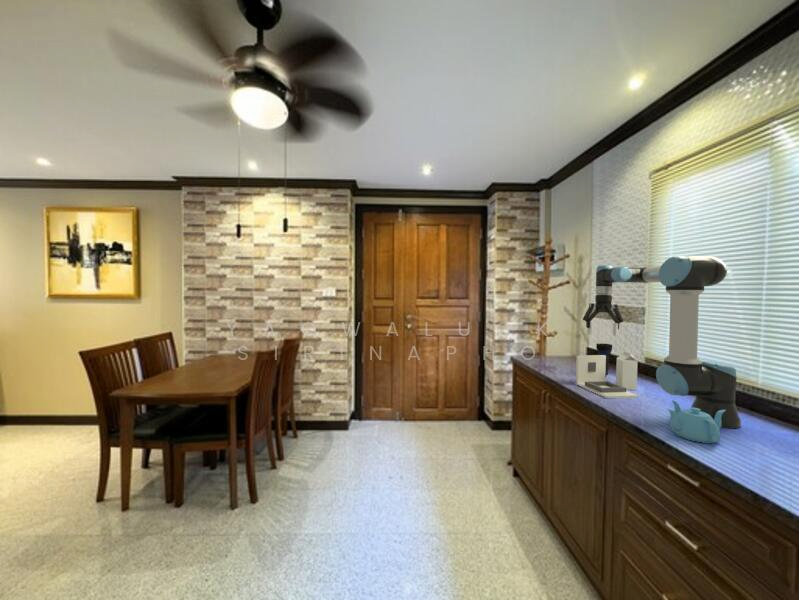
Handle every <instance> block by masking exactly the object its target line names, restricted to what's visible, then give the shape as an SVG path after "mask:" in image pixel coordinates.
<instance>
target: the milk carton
mask: <svg viewBox="0 0 799 600" xmlns="http://www.w3.org/2000/svg"><path fill="white" fill-rule="evenodd" d="M638 362H639V361H638V360H637V359H635V355H633V354H631V352H628V351H624V350H623V353H622V354H620V355H619V356H617V357H616V362H615V363H616V367H615V384H617V385H620V386H622V387H625V388H626V391H627V390H629V391H631V390H633V391H637V390H638Z"/></svg>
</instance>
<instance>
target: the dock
mask: <svg viewBox="0 0 799 600" xmlns="http://www.w3.org/2000/svg"><path fill="white" fill-rule="evenodd" d="M575 358H576V359H575V360H576V361H575V363H576V365H575V385H576V384H577V385H579V386H581V387H580V388H582V387H583V388H582V389H584V388H585V390H586V389H587V391H588V390H589V391H588V392H591V391H592V392H591V393H593V392H594V394H595V393H596V394H595V395H597V394H598V395H597V396H600V395H601V396H600V397H602V396H603V397H602V398H604V397H605V399H606V398H614V399H638V397H639V395H638V394H635V393H633V392H631V391H627V389H626V388H625V387H622V386H620V385H617V384H616V383H615V382H611V381H608V380H606V378H605V370H606V356H605V355H599V354H596V355H595V354H591V355H590V354H588V355H587V354H585V355H583V354H582V355H580V354H579V355H577V354H576V356H575ZM577 385H576V386H577ZM579 386H578V387H579Z"/></svg>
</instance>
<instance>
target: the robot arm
mask: <svg viewBox="0 0 799 600" xmlns="http://www.w3.org/2000/svg"><path fill="white" fill-rule="evenodd" d="M727 274H728V268H727V265H726V264H725V262H724V261H722V260H721V259H720V258H718V257H714V256H702V255H701V256H699V255H697V256H694V255H693V256H691V255H680V256H679V255H678V256H677V255H676V256H671V257H669V258H667V259H666V260H665V261H664V262H663V263H662V264H661V266H659V265H658V266H647V267H628V266H616V267H613V265H609V264H603V265H602V264H601V265H598V266H597V267H596V272H595V303H594V302H593V303H589V305H588V307H587V310H586V311H585V314H584V316H583V317H582V321H584V322H586V325H585V326H586V329H587V335H592V334H593V322H592V320H593V319H594V318H595V317H596V316H597V315H598V314H599V313H606V314H608V316H609V317H610V318H611V319H612V321H613V323H612V336H618V333H619V332H618V330H619V329H620V324H621V323H623V322H624V319H623V317H622V314H621V312H620V311H619V306H618V304H616V303H615V304H612V303H613V296H612V294H613V284H615V283H637V284H639V283H640V284H642V283H644V284H648V283H660V284H661V285H663V286H664V287H665V291H666V293H667V294H668V295H669V297H670V300H669V301H670V302H669V334H668V335H669V337H668V339H669V340H668V341H669V342H668V343H669V344H668V355H667V356H666V357H664V358H663V364H662V365H659V366H658V368H656V371H655V376H656V378H655V379H656V381H657V382H658V385H659V386H660V388H661V389H662V390H663V391H664V392H665V393H667V394H669V395H672V396H679V397H686V396H695V398H694V400H693V403H692V405H691V408H699V409H701V412H704V413H707V414H709V415H710V416H711V417H712V418H713V420H714V418H715V415H716V413H717V412H718V411H719V410H726V411H725V412H724V413H723V414H722V416H721V428H725V429H739V428H740V427H741V425H742V424H741V423H742V420H741V418H740V416H739V412H738V410H737V407H736V391H737V379H738V377H737V369H736V368H735V367H734V366H732V365H728V364H723V363H719V362H713V361H706V360H702V359H701V360H700V359H699V358H698V345H699V344H698V342H699V340H698V339H699V337H698V335H699V334H698V332H699V304H700V303H699V301H700V300H699V299H700V297H699V296H700V295H701V294H703V292H705V287H712V286H716V285H718V284H720V283H721V282H722V281H724V280H725V278H726V277H727ZM691 408H689V410H691Z"/></svg>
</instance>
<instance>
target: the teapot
mask: <svg viewBox="0 0 799 600" xmlns="http://www.w3.org/2000/svg"><path fill="white" fill-rule="evenodd" d="M671 402H672V404H673V406H674V410H673V409H669V408H666V409H667V411H668V412H669V414H670V417H669V423H670V426H671V429H672V431H673V432H674V433H675V434H676V435H677V436H678V437H680V436H681V437H680V438H682V437H683V438H682V439H684V438H685V440H687V439H689V440H688V441H690V440H692V441H691V442H694V441H697V442H696V443H699V442H702V443H701V444H714V443H717V441H719V440H721V433H720V429H721V428H722V427H721V416H722V414H723V413H724V412H725V411H726V410H719V411H718V412H717V413H716V415H715V418H714V420H713V418H712V417H711V416H710V415H709V414H707V413H704V412H701V409H699V408H689V409H681V407H680V404H679V403H678V402H677V401H674V400H671ZM690 409H691V410H690Z"/></svg>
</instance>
